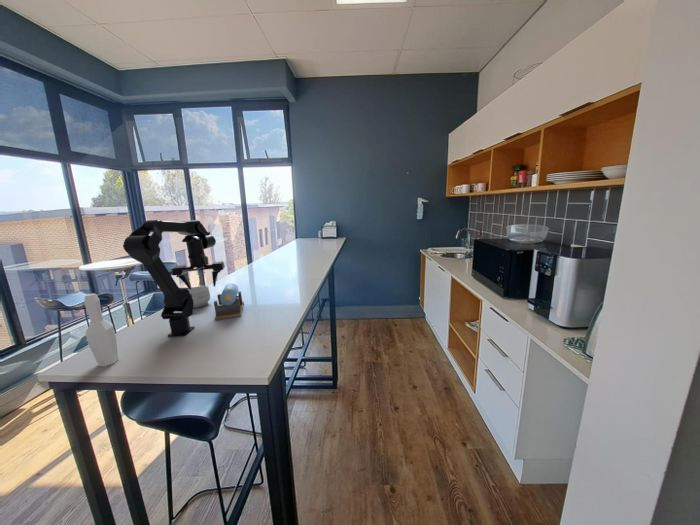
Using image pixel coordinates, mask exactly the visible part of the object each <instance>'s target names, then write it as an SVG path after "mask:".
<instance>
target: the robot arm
mask: <svg viewBox="0 0 700 525" xmlns="http://www.w3.org/2000/svg"><path fill="white" fill-rule="evenodd" d="M151 233H152V234H151ZM163 233H178V234H180V235H183V236H184V238H183V239H182V240H181V242H182V243H185V244H186V249H187V253H188V255H187V257H188V260H189V264H190V265H189V266H186V264H183V265H176V266H174V267H172V268H171V273H170V271H169V270H168V268H167V267H166V265H165V264H164V262H163V261H162V258H160V254H161V248H160V244H161V243H162V241H163ZM150 234H151V235H150ZM216 243H217V240H216V238H215V236H213V235H212V234H211V232H210V231H207V229H206V228H205V226H204V225H203V223H202V222H201V220H199V219H198V220H197V219H196V220H182V221H168V220H160V219H154V220H153V219H149V220H146V221H144V222H143V223H142V224H141V226H139V227H138V228H136V229H135V230H133V231H132V232H131V233H130V234H129V235H128V236H127V237H125V239H124V241H123V244H122V247H123V249H124V251H125V252H126V253H127V254H128V255H129V256H130V257H131V258H132V259H133V260H136V261H137V262H139V263H140V264H142V265H143V267H144V269H146V271H147V272H148V273H149V276H151V278H152V279H153V282H154V283H155V284H156V285H157V287H158V288H159V289H160V291H161V292H162V294H163V295H164V297H163V304H164V307H163V309H162V312H161V315H160V317H161V318H162V320H168V322H169V327H170V333H169V334H167V337H181V336H186V335H188V334H189V333H190V332H191V331H192V330H194V329H195V326H191V324H190V319H189V317H190V316H193V315H194V308H193V299H192V295H191V294H190V293H189V290H188V289H190V290H191V288H192V285H191V282H190V277H189V272H196V271H203V270H204V271H205V270H212V272H211V274H212V284H213V287H216V285H217V284H216V283H217V279H218V274H219V273H221V271H223V270H224V269H225V262H224V261H223V260H220V261H213V263H212V264H210V262H209V257H208V256H207V255H206V253H205V250H206V249H209V248H213V247H215V245H216ZM173 276H175V277H176V278H179V279H180V280H181V281H182V282H183V283H184V285H186V287H187V288H180V287H179V286H178V284H177V283H176V281H175V279H174V277H173Z"/></svg>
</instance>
